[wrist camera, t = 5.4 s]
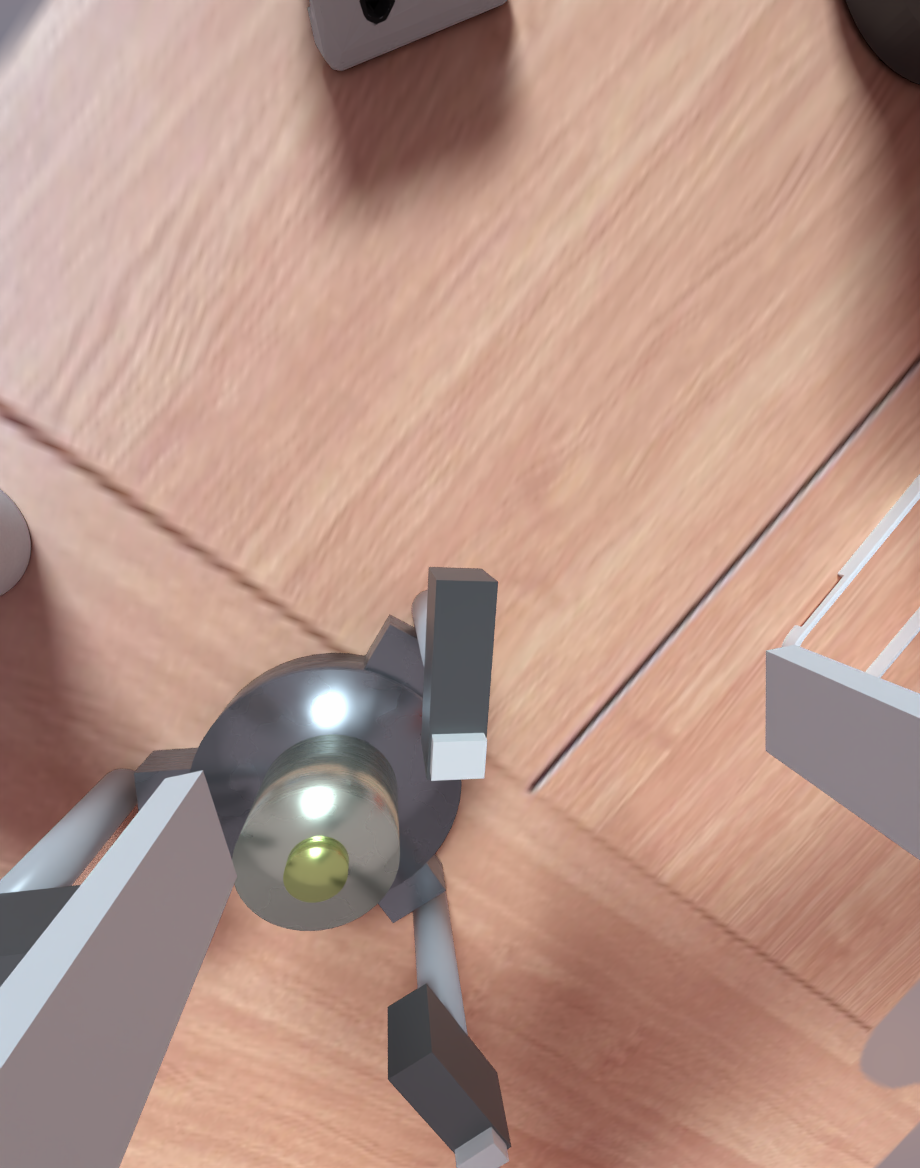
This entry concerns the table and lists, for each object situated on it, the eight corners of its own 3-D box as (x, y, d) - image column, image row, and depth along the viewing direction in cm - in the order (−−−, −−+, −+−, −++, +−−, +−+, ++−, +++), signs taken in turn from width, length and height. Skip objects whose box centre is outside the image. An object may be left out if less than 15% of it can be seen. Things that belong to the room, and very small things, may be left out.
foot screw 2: (414, 544, 24) (435, 583, 14) (454, 546, 24) (504, 584, 14) (409, 668, 25) (425, 789, 15) (447, 668, 26) (489, 786, 15)
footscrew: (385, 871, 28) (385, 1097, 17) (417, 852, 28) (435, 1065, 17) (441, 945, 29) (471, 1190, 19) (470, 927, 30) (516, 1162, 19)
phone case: (835, 700, 32) (978, 530, 31) (854, 709, 31) (1004, 532, 30) (771, 644, 30) (921, 461, 29) (789, 651, 29) (946, 460, 28)
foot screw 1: (192, 763, 24) (49, 961, 14) (195, 799, 25) (60, 1017, 15) (46, 773, 23) (-225, 996, 13) (52, 811, 24) (-205, 1056, 13)
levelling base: (411, 587, 25) (422, 627, 17) (540, 804, 29) (594, 911, 22) (115, 758, 24) (-6, 876, 17) (290, 955, 28) (256, 1121, 21)
